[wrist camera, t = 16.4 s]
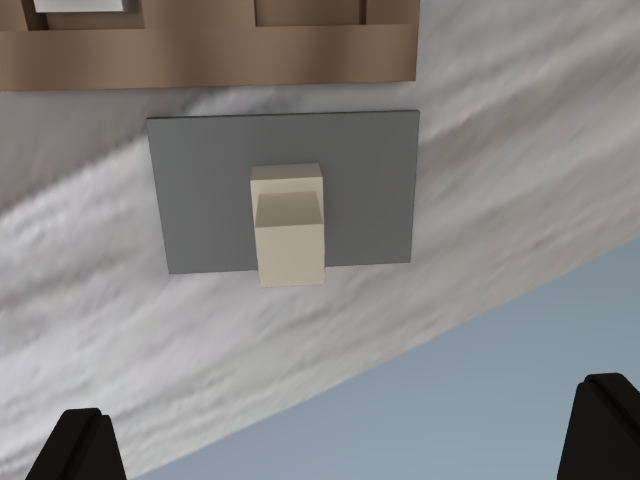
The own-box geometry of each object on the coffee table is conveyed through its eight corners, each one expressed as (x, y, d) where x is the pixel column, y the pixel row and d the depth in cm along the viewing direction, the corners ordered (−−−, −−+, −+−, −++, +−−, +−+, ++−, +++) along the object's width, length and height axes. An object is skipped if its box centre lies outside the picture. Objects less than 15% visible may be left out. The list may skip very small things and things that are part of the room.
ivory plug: (318, 163, 31) (331, 207, 23) (320, 235, 32) (333, 297, 25) (252, 166, 30) (244, 212, 23) (258, 238, 32) (253, 302, 25)
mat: (417, 109, 30) (419, 111, 30) (408, 258, 34) (410, 262, 34) (147, 117, 29) (145, 119, 29) (170, 270, 33) (169, 274, 33)
